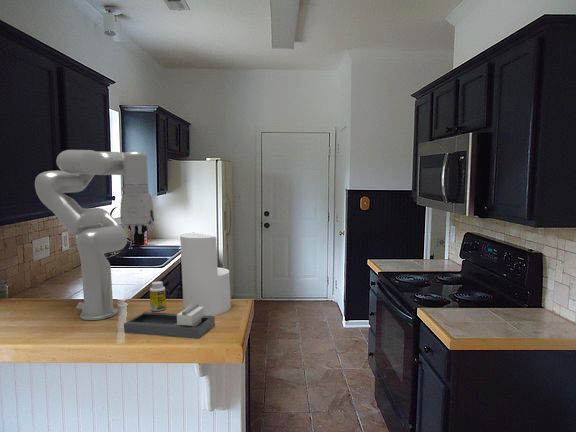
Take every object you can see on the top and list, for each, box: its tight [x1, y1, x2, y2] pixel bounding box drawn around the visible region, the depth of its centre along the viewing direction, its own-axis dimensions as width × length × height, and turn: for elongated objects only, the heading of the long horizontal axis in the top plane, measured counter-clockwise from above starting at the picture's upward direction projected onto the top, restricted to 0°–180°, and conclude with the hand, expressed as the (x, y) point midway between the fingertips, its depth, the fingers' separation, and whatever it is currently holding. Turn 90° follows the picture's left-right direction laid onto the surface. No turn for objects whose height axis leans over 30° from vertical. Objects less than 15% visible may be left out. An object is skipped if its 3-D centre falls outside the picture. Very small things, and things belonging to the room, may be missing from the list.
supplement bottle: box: [149, 281, 167, 312], centre depth 161 cm, size 6×6×10 cm
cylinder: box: [179, 232, 232, 316], centre depth 159 cm, size 17×17×28 cm
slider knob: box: [176, 303, 204, 326], centre depth 138 cm, size 5×9×6 cm, turn 166°
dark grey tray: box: [123, 311, 216, 339], centre depth 140 cm, size 26×12×3 cm, turn 76°
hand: (139, 245), depth 142 cm, fingers closed
